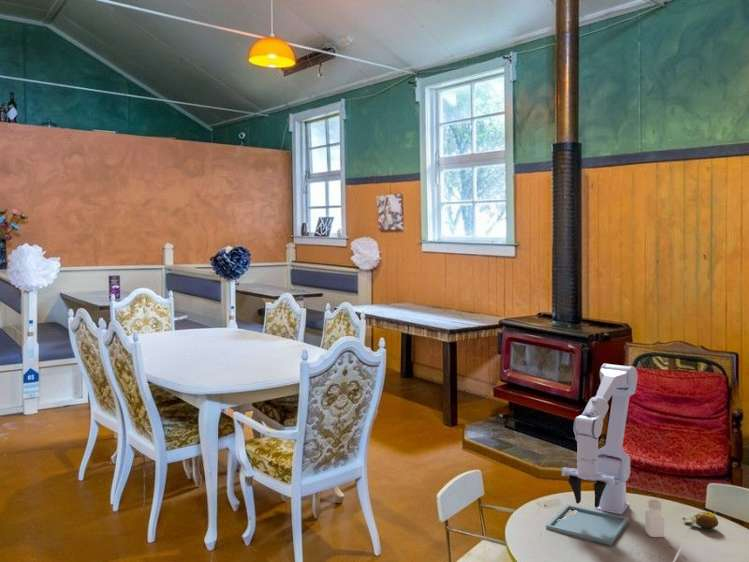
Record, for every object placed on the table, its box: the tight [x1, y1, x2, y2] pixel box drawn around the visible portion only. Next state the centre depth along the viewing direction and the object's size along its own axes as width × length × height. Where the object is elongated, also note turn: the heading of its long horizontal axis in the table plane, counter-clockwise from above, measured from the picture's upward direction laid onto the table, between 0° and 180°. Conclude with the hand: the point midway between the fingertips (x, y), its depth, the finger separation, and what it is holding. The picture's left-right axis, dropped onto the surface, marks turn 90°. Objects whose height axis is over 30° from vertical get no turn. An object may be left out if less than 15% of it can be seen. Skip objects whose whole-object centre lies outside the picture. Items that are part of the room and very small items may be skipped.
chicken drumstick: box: [682, 511, 719, 530], centre depth 183 cm, size 8×8×4 cm
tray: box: [545, 504, 629, 547], centre depth 183 cm, size 18×18×2 cm
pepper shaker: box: [644, 498, 665, 538], centre depth 177 cm, size 4×4×10 cm
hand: (587, 504), depth 182 cm, fingers open, 5 cm apart
